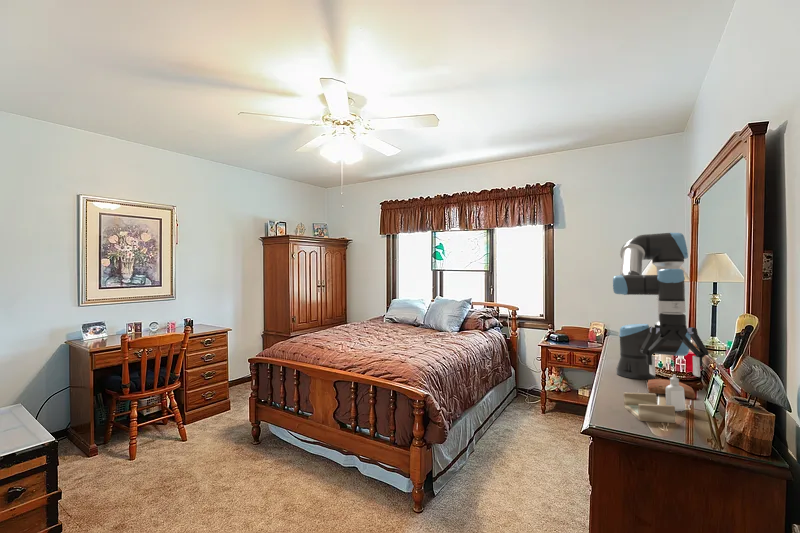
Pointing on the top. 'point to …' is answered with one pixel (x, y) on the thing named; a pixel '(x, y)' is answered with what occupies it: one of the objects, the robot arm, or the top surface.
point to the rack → (648, 407)
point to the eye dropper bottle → (675, 394)
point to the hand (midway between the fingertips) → (674, 375)
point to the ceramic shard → (660, 386)
